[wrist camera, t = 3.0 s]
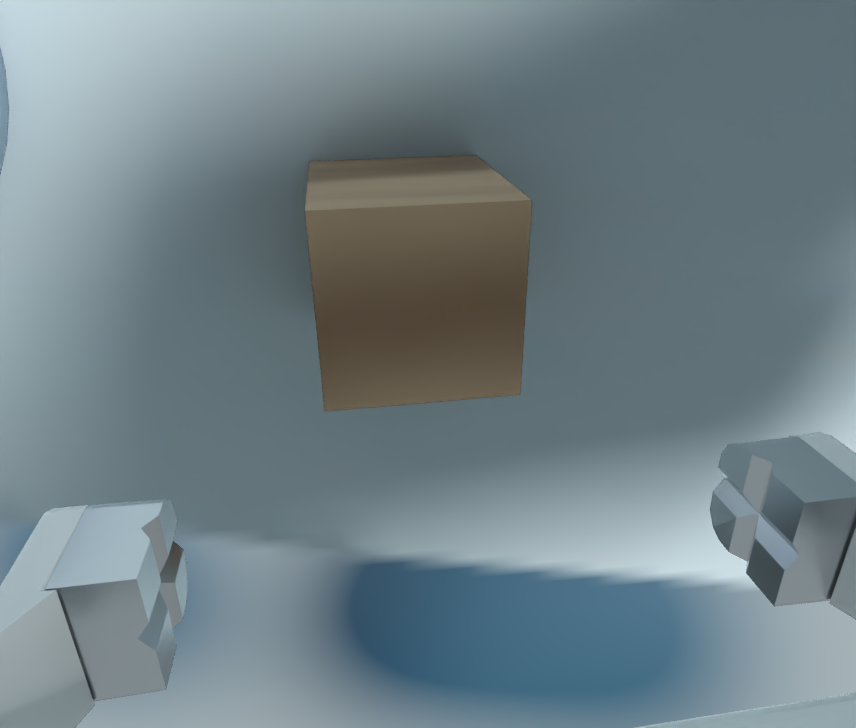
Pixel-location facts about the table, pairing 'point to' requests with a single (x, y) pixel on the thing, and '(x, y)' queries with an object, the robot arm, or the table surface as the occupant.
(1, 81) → the dish
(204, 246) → the table surface
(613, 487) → the table surface
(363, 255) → the walnut block
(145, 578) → the robot arm
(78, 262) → the table surface
